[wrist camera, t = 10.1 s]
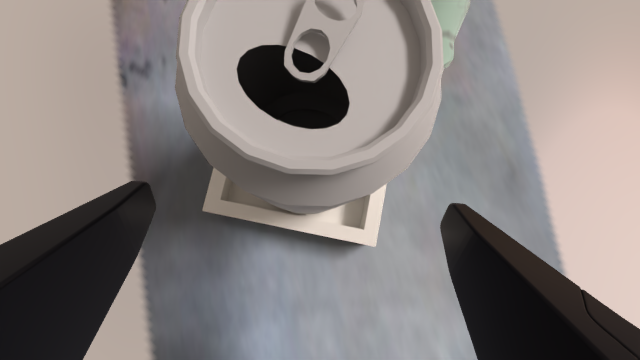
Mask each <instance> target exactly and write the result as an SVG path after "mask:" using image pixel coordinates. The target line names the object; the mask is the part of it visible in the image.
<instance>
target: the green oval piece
mask: <svg viewBox="0 0 640 360" xmlns="http://www.w3.org/2000/svg"><path fill="white" fill-rule="evenodd" d="M470 1H471V0H431V3H432V5H433V8H434V11H435V13H436V16H437V19H438V21H439V24H440V26H441V29H442V40H443V63H444V68H446V67H448V66H449V65H450V63H451V62H452V60H453V57H454V41H455V38H456V36H457V34H458V31H459V29H460V27H461V25H462V23H463V20H464V18H465V16H466V14H467V12H468V9H469V7H470Z"/></svg>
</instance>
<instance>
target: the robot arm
mask: <svg viewBox="0 0 640 360" xmlns="http://www.w3.org/2000/svg"><path fill="white" fill-rule="evenodd" d="M155 209H156V203H155V200H154V197H153V194H152V191H151V188H150V185H149V184H148V183H147V182H143V181H131V182H129V183H127V184H124V185H123V186H120V187H118V188H116V189H114V190H112V191H110V192H108V193H106V194H104V195H102V196H100V197H98V198H96V199H94V200H92V201H89V202H87V203H85V204H83V205H81V206H79V207H77V208H75V209H73V210H71V211H69V212H67V213H65V214H63V215H61V216H59V217H57V218H55V219H52V220H51V221H48V222H47V223H44V224H42V225H40V226H38V227H36V228H34V229H32V230H30V231H28V232H26V233H24V234H22V235H20V236H17V237H15V238H13V239H11V240H9V241H7V242H5V243H3V244H1V245H0V360H83V358H84V356H85V355H86V353H87V351H88V349H89V347H90V345H91V343H92V341H93V339H94V337H95V336H96V333H97V332H98V330H99V328H100V326H101V324H102V322H103V320H104V318H105V317H106V315H107V313H108V311H109V309H110V307H111V305H112V303H113V301H114V299H115V298H116V296H117V294H118V292H119V290H120V288H121V286H122V284H123V282H124V281H125V279H126V277H127V275H128V273H129V271H130V269H131V267H132V265H133V263H134V261H135V259H136V257H137V255H138V253H139V251H140V248H141V246H142V243H143V241H144V238H145V236H146V233H147V230H148V228H149V225H150V223H151V220H152V218H153V215H154V212H155ZM440 229H441V234H442V239H443V244H444V249H445V254H446V259H447V264H448V268H449V272H450V276H451V279H452V283H453V286H454V289H455V292H456V295H457V298H458V301H459V304H460V307H461V310H462V313H463V316H464V319H465V322H466V325H467V328H468V331H469V334H470V337H471V340H472V343H473V346H474V349H475V353H476V356H477V359H478V360H640V329H639V328H637V327H636V326H634V325H633V324H631V323H630V322H628V321H627V320H625V319H624V318H622V317H621V316H619V315H618V314H617V313H615V312H614V311H612V310H611V309H609V308H608V307H607V306H605V305H604V304H602V303H601V302H600V301H598V300H597V299H595V298H594V297H592V296H591V295H590V294H589V293H587V292H586V291H585V290H581V289H580V287H579V286H577V285H576V284H575V283H573V282H572V281H571V280H569V279H568V278H566V277H565V276H564V275H562V274H561V273H560V272H558V271H557V270H555V269H554V268H553V267H551V266H550V265H548V264H547V263H546V262H544V261H543V260H542V259H540V258H539V257H537V256H536V255H535V254H533V253H532V252H531V251H529V250H528V249H526V248H525V247H524V246H522V245H521V244H519V243H518V242H517V241H515V240H514V239H513V238H511V237H510V236H508V235H507V234H506V233H504V232H503V231H502V230H500V229H499V228H497V227H496V226H495V225H493V224H492V223H490V222H489V221H488V220H486V219H485V218H484V217H482V216H481V215H479V214H478V213H477V212H475V211H474V210H472V209H471V208H470V207H468V206H467V205H465V204H460V203H451V204H450V205H449V206H448V208H447V210H446V212H445V215H444V217H443V219H442V221H441V225H440Z"/></svg>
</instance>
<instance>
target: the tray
mask: <svg viewBox="0 0 640 360" xmlns="http://www.w3.org/2000/svg"><path fill="white" fill-rule="evenodd" d="M385 190H386V184H385V185H384V186H382V187H381V188H380V189H378V190H377V191H375V192H374V193H373V194H370V195H367V196H365V197H362V198H360V199H357V200H355V201H352V202H349V203H347V204H344V205H342V206H339V207H337V208H334V209H330V210H327V211H324V212H321V213H317V214H299V213H293V212H291V211H288V210H285V209H282V208H279V207H276V206H274V205H272V204H270V203H268V202H266V201H264V200H262V199H260V198H258V197H256V196H254V195H252V194H250V193H248V192H246V191H244V190H243V189H241V188H240V187H239V186H238V185H236V184H235V183H234V182H232V181H231V180H230V179H228V178H227V177H226V176H224V175H223V174H222V173H221V172H219V171H218V170H217V169H215V168H213V172H212V175H211V179H210V183H209V187H208V191H207V194H206V198H205V202H204V206H203V210H202V211H205V212H210V213H215V214H219V215H224V216H229V217H234V218H239V219H244V220H248V221H253V222H258V223H263V224H268V225H273V226H277V227H282V228H287V229H292V230H297V231H301V232H306V233H311V234H316V235H321V236H326V237H330V238H335V239H340V240H345V241H350V242H355V243H359V244H364V245H369V246H374V247H376V242H377V236H378V230H379V224H380V219H381V213H382V207H383V202H384V196H385Z"/></svg>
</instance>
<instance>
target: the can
mask: <svg viewBox="0 0 640 360" xmlns="http://www.w3.org/2000/svg"><path fill="white" fill-rule="evenodd" d="M176 59H177V73H176V84H175V90H176V94H177V97H178V101H179V105H180V109H181V113H182V117H183V121H184V124H185V128H186V130H187V131H188V133H189V134H190V136H191V137H192V139H193V140H194V142H195V143H196V145H197V146H198V148H199V149H200V151H201V152H202V154H203V155H204V157H205V158H206V160H207V161H208V163H209V164H210V165H211V166H213V167H214V168H215V169H217V170H218V171H219V172H221V173H222V174H223V175H224V176H226V177H227V178H228V179H230V180H231V181H232V182H234V183H235V184H236V185H238V186H239V187H240V188H241V189H243V190H244V191H246V192H248V193H250V194H252V195H254V196H256V197H258V198H260V199H262V200H264V201H266V202H268V203H270V204H272V205H274V206H276V207H279V208H282V209H285V210H288V211H291V212H293V213H299V214H317V213H321V212H324V211H327V210H330V209H334V208H337V207H339V206H342V205H344V204H347V203H349V202H352V201H355V200H357V199H360V198H362V197H365V196H367V195H370V194H373V193H374V192H375V191H377V190H378V189H380V188H381V187H382V186H384V185H385V184H387V183H388V182H389V181H391V180H392V179H394V178H395V177H396V176H398V175H399V174H401V173H402V172H403V171H405V170H406V169H407V168H408V167H409V165H410V164H411V162H412V161H413V160H414V158H415V157H416V155H417V154H418V153H419V151H420V150H421V148H422V147H423V146H424V144H425V143H426V141H427V140H428V139H429V137H430V135H431V132H432V129H433V125H434V122H435V119H436V115H437V112H438V108H439V105H440V102H441V76H442V73H443V70H444V63H443V40H442V29H441V26H440V24H439V21H438V19H437V16H436V13H435V11H434V8H433V5H432V3H431V0H187V2H186V4H185V6H184V8H183V11H182V13H181V15H180V17H179V28H178V39H177V50H176Z"/></svg>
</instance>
